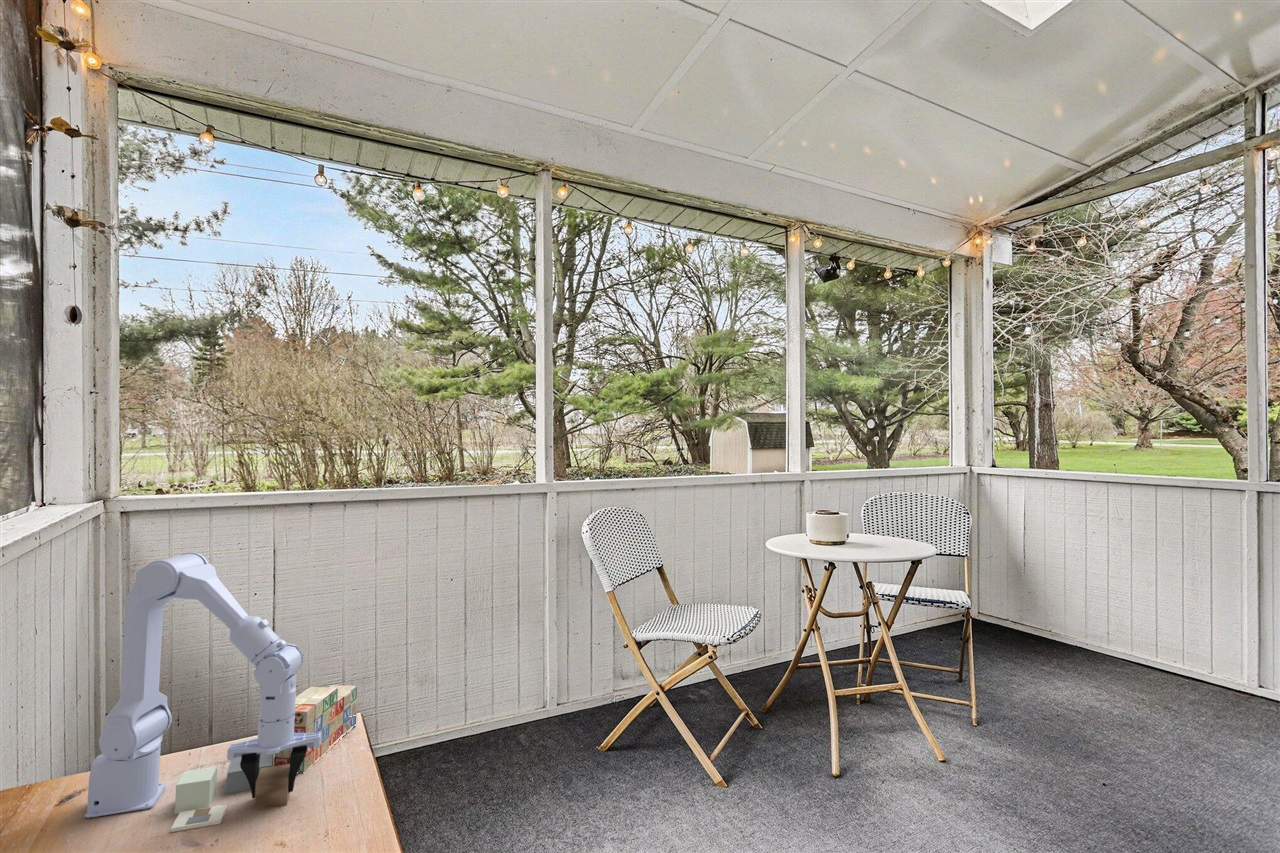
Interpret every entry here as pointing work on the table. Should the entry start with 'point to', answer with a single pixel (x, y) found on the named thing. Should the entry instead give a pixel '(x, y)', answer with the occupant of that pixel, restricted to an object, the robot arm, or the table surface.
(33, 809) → the table surface
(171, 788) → the table surface
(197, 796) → the sage block
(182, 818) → the card
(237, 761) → the slate block
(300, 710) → the stack of blocks
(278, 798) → the walnut block
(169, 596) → the robot arm
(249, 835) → the table surface
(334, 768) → the table surface
